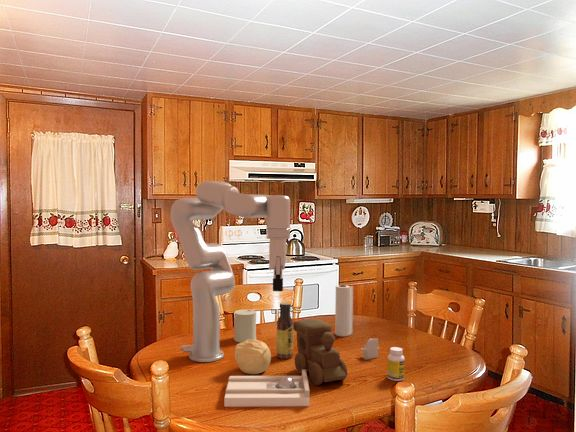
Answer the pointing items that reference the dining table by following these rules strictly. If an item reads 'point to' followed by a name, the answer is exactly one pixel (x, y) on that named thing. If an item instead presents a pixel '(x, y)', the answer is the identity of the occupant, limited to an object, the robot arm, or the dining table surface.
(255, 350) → the sculpture
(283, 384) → the steel ball
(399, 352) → the supplement bottle
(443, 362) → the dining table surface
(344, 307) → the paper towel roll
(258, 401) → the white tray
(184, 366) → the dining table surface
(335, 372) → the wooden toy train
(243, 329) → the can
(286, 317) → the sauce bottle
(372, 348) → the architectural model
